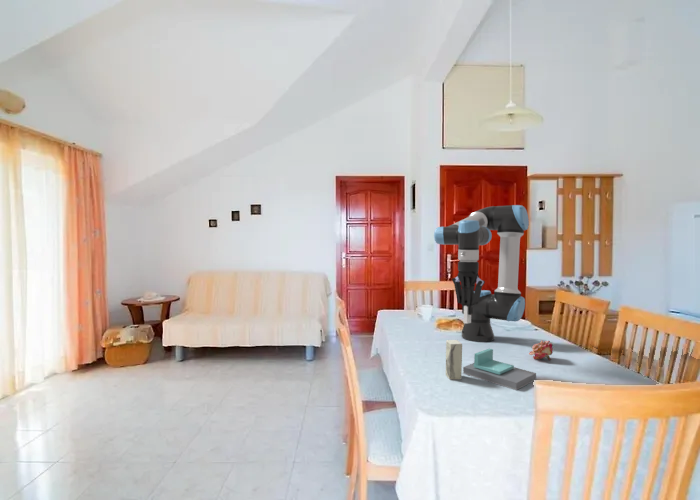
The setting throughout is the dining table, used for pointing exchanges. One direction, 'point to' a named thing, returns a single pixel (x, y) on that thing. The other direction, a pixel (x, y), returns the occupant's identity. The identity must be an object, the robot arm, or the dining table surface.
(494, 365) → the teal angle bracket
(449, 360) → the box
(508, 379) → the socket block
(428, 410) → the dining table surface
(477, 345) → the dining table surface
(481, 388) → the dining table surface
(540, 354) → the flower
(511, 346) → the dining table surface
